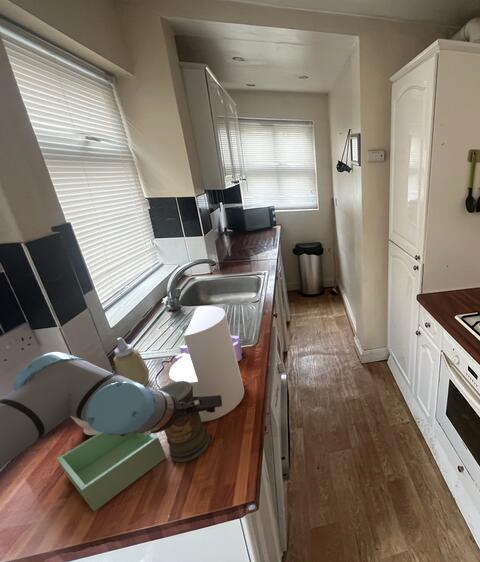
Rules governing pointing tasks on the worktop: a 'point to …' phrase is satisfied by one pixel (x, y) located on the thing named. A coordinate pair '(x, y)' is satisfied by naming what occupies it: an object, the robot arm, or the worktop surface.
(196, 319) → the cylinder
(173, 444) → the container
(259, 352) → the worktop surface
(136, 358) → the squeeze bottle
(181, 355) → the clip
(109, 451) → the tub
